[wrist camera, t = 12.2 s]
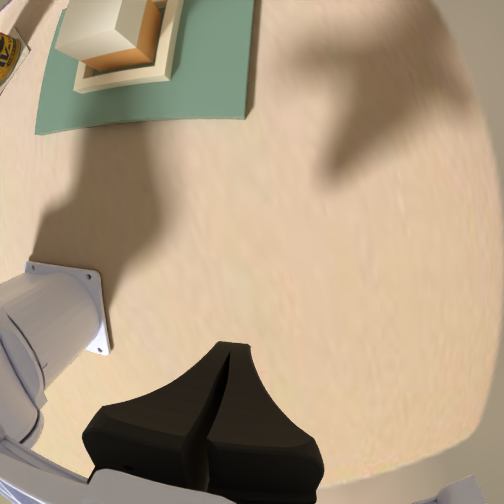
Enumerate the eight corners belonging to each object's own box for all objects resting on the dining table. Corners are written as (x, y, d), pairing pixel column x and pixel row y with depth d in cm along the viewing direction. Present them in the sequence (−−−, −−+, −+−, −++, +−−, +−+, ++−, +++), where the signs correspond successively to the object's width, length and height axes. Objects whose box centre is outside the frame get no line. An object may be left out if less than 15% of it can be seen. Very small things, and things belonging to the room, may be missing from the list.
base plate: (41, 135, 19) (25, 133, 17) (68, 13, 16) (56, 5, 14) (245, 119, 18) (241, 112, 16) (256, -22, 15) (255, -37, 13)
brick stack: (101, 72, 17) (54, 48, 11) (111, 25, 16) (71, -6, 10) (153, 62, 17) (114, 29, 11) (162, 14, 15) (131, -26, 10)
